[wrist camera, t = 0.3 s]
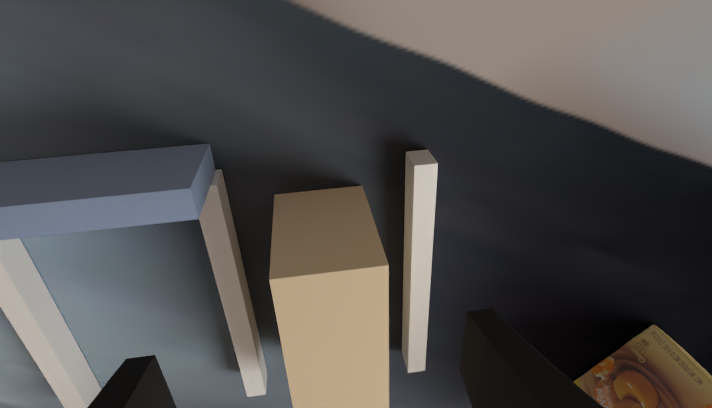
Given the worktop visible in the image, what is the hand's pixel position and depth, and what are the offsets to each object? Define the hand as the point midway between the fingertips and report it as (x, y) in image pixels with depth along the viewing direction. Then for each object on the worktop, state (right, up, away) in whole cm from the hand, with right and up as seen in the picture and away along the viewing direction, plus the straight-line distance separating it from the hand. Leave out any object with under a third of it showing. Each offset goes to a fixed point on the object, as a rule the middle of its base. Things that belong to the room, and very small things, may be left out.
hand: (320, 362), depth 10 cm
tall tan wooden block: (-1, 0, +12) cm, 12 cm away
